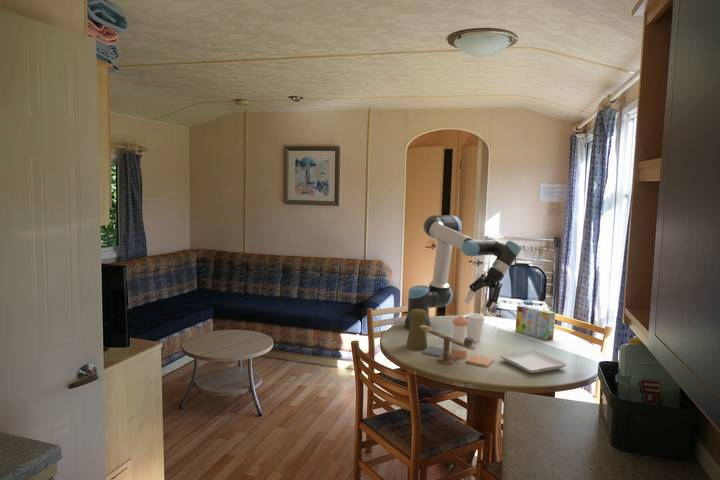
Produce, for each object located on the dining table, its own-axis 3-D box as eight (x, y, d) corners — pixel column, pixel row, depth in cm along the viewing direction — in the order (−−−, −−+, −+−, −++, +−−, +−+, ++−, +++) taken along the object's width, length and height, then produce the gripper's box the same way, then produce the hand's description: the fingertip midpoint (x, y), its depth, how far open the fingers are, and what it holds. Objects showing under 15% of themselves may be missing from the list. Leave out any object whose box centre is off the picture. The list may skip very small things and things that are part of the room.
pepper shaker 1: (412, 342, 253) (414, 306, 251) (431, 346, 247) (432, 309, 245) (402, 347, 244) (403, 309, 242) (421, 352, 238) (422, 313, 236)
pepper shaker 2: (455, 359, 229) (457, 318, 227) (448, 354, 236) (450, 314, 234) (469, 358, 231) (471, 318, 229) (462, 353, 238) (464, 314, 236)
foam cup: (481, 337, 265) (483, 314, 263) (484, 342, 255) (485, 318, 254) (464, 336, 266) (465, 313, 264) (466, 341, 256) (467, 317, 255)
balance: (416, 357, 230) (417, 326, 229) (422, 354, 235) (423, 324, 234) (471, 369, 216) (473, 337, 214) (476, 365, 221) (478, 334, 219)
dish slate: (421, 353, 236) (421, 351, 236) (430, 347, 245) (430, 346, 245) (441, 357, 231) (441, 355, 231) (449, 351, 239) (449, 349, 239)
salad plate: (530, 377, 210) (531, 369, 209) (498, 361, 229) (498, 354, 229) (568, 371, 218) (568, 363, 218) (533, 356, 237) (533, 349, 237)
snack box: (553, 339, 265) (555, 312, 264) (547, 341, 262) (549, 313, 260) (521, 329, 282) (522, 304, 281) (514, 331, 279) (516, 305, 278)
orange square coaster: (465, 362, 225) (465, 360, 224) (473, 356, 233) (473, 354, 233) (487, 367, 219) (487, 365, 219) (494, 361, 228) (494, 359, 228)
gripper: (478, 259, 247) (454, 295, 247) (509, 274, 224) (483, 313, 224) (487, 267, 250) (464, 302, 250) (519, 281, 227) (494, 320, 227)
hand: (473, 307), depth 237 cm, fingers open, 13 cm apart
